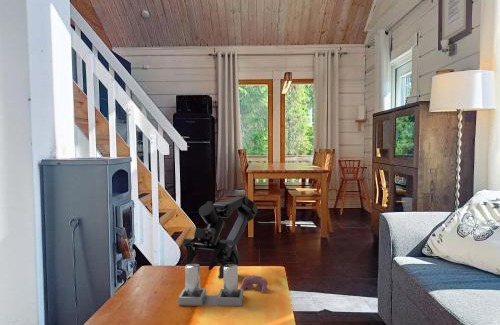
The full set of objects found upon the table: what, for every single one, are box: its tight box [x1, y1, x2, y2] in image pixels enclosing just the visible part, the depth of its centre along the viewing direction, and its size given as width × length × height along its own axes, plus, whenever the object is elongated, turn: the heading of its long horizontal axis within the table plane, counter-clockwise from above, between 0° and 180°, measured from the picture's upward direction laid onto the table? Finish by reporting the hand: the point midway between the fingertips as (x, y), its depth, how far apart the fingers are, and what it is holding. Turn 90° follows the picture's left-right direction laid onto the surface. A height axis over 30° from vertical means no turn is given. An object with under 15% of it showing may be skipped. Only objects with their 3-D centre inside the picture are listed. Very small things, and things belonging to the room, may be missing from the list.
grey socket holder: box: [177, 287, 245, 307], centre depth 125 cm, size 22×9×4 cm, turn 87°
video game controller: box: [239, 275, 268, 295], centre depth 134 cm, size 10×5×7 cm, turn 71°
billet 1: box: [184, 263, 201, 297], centre depth 125 cm, size 5×5×12 cm
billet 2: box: [222, 264, 239, 297], centre depth 124 cm, size 5×5×12 cm
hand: (198, 268), depth 128 cm, fingers open, 9 cm apart
